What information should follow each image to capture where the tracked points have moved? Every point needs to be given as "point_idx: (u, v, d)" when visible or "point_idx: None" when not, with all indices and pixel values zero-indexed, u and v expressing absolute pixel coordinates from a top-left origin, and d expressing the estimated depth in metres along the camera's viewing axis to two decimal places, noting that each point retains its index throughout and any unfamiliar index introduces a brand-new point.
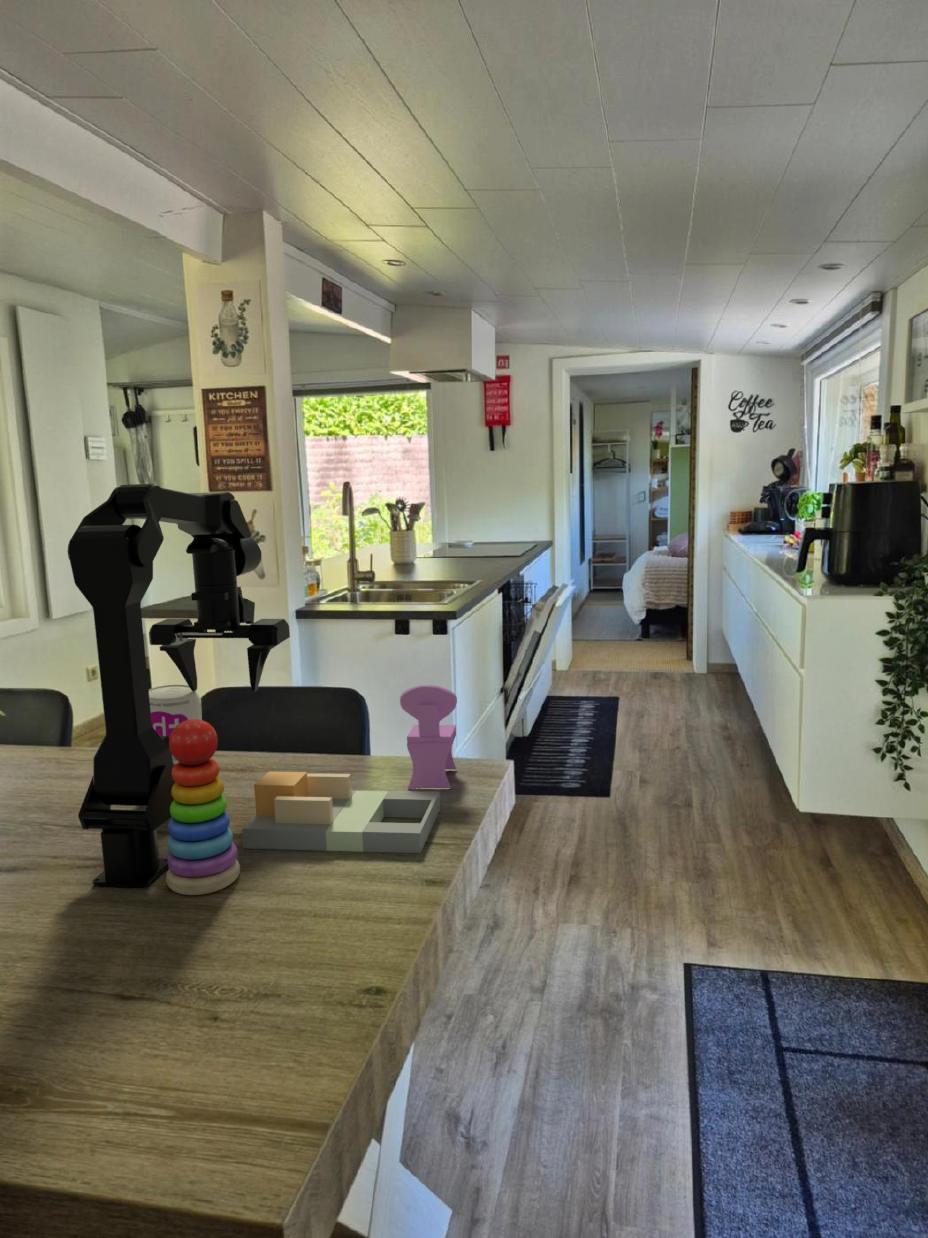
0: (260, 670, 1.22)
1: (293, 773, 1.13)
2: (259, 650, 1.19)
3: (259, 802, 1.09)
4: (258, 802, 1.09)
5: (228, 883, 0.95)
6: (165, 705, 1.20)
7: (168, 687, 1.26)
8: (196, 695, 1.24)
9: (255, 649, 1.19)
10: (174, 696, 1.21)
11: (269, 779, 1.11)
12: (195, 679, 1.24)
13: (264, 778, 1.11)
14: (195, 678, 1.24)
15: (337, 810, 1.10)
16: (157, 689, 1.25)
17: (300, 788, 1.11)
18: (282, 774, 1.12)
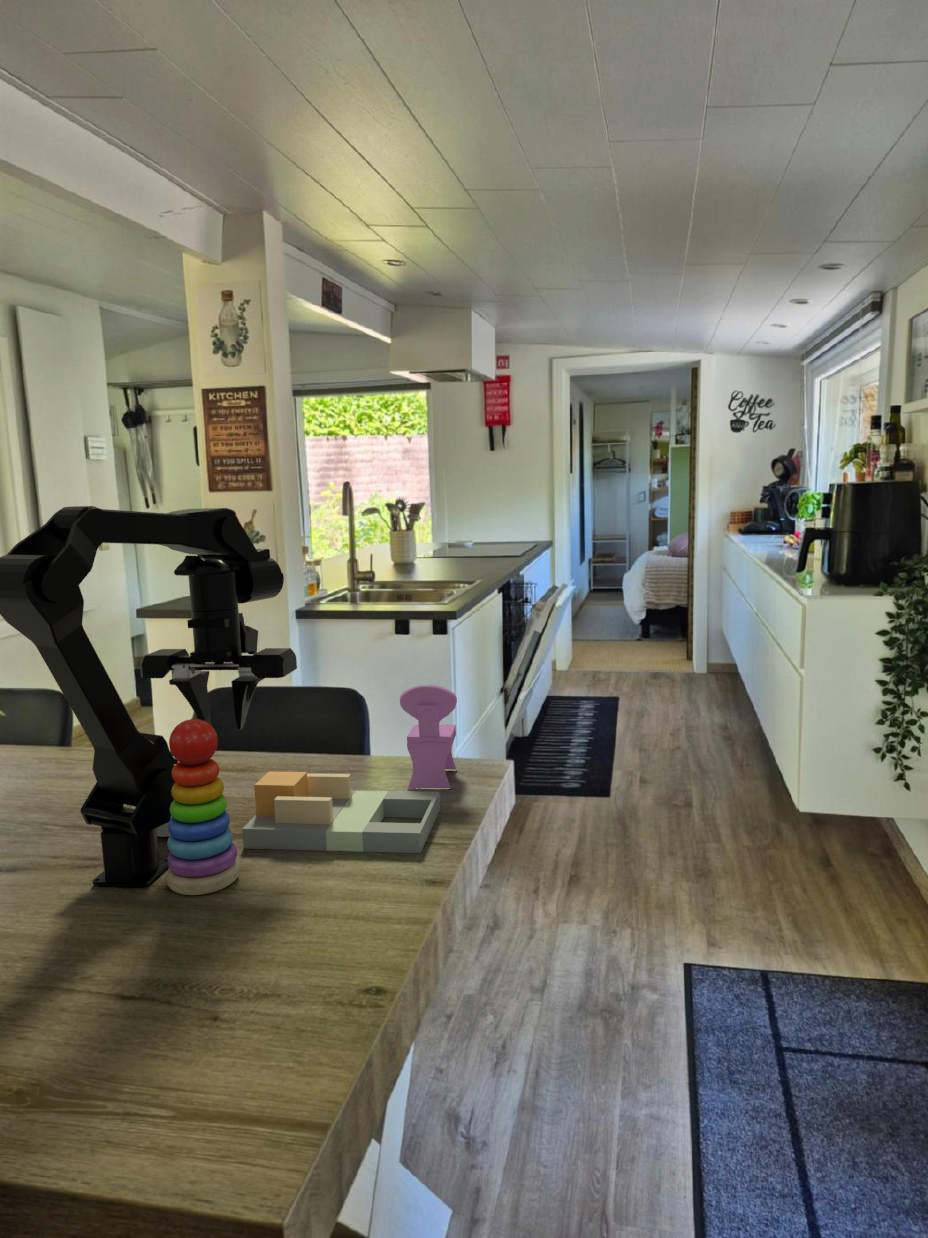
0: (246, 705, 1.10)
1: (293, 773, 1.13)
2: (245, 683, 1.06)
3: (259, 802, 1.09)
4: (258, 802, 1.09)
5: (228, 883, 0.95)
6: None
7: None
8: None
9: (240, 682, 1.06)
10: None
11: (269, 779, 1.11)
12: (208, 716, 1.11)
13: (264, 778, 1.11)
14: (208, 715, 1.11)
15: (337, 810, 1.10)
16: None
17: (300, 788, 1.11)
18: (282, 774, 1.12)
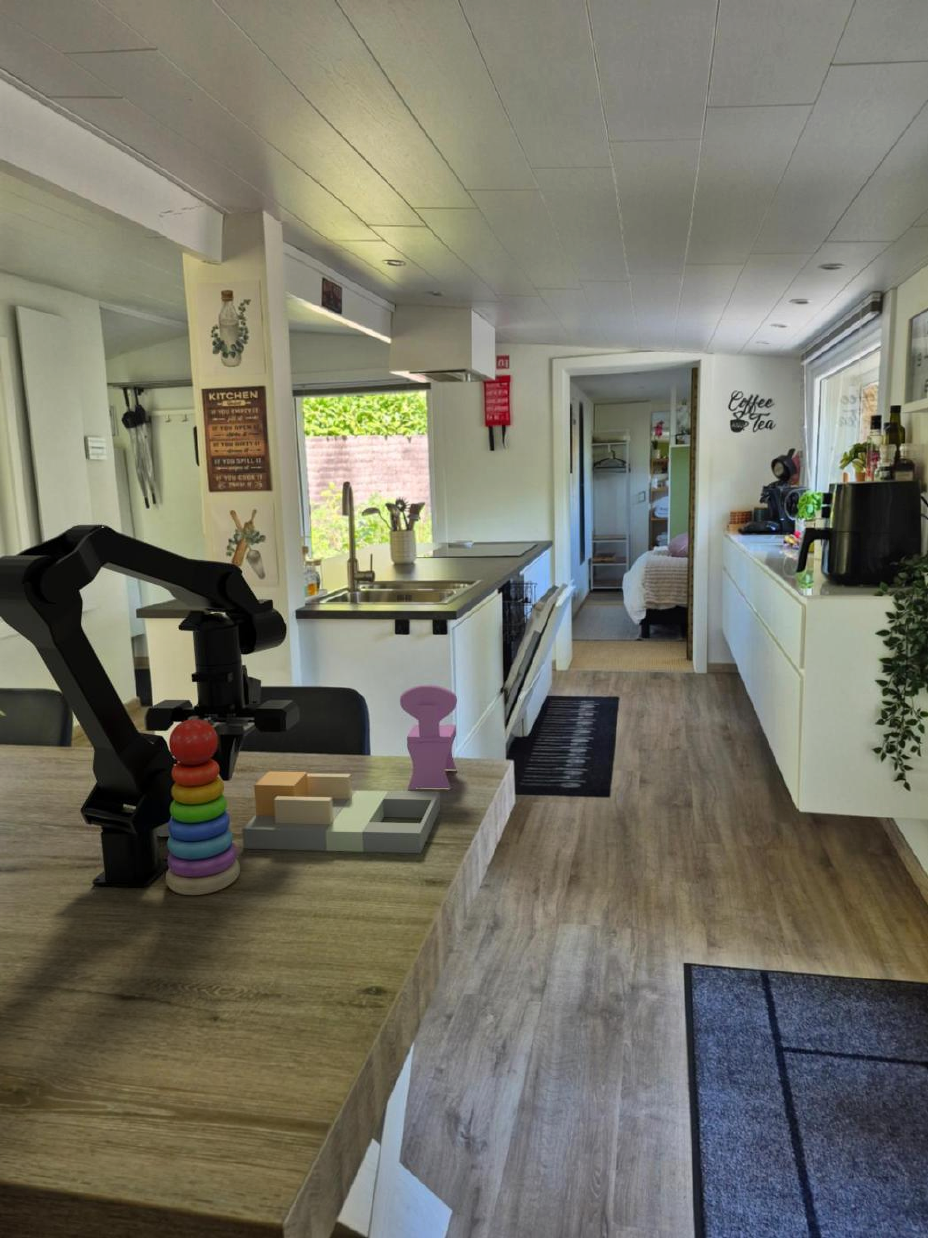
0: (234, 757, 1.11)
1: (293, 773, 1.13)
2: (232, 736, 1.08)
3: (259, 802, 1.09)
4: (258, 802, 1.09)
5: (228, 883, 0.95)
6: (162, 836, 1.09)
7: None
8: None
9: (228, 735, 1.08)
10: None
11: (269, 779, 1.11)
12: None
13: (264, 778, 1.11)
14: None
15: (337, 810, 1.10)
16: None
17: (300, 788, 1.11)
18: (282, 774, 1.12)
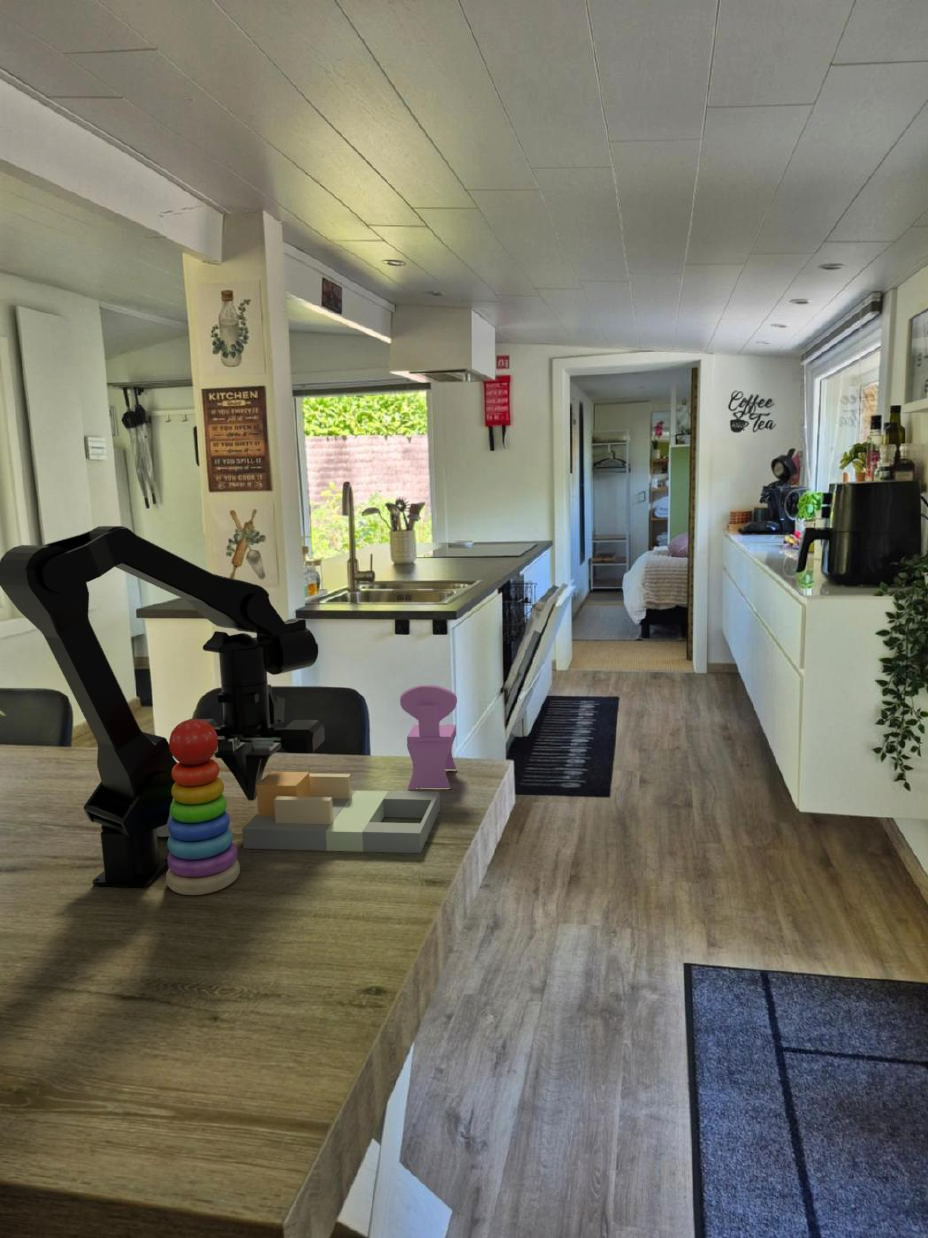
0: (260, 777, 1.11)
1: (295, 773, 1.13)
2: (258, 757, 1.08)
3: (261, 802, 1.09)
4: (260, 803, 1.09)
5: (228, 883, 0.95)
6: None
7: None
8: None
9: (254, 756, 1.08)
10: None
11: (271, 779, 1.11)
12: None
13: (266, 778, 1.11)
14: None
15: (337, 810, 1.10)
16: None
17: (303, 788, 1.10)
18: (284, 774, 1.12)
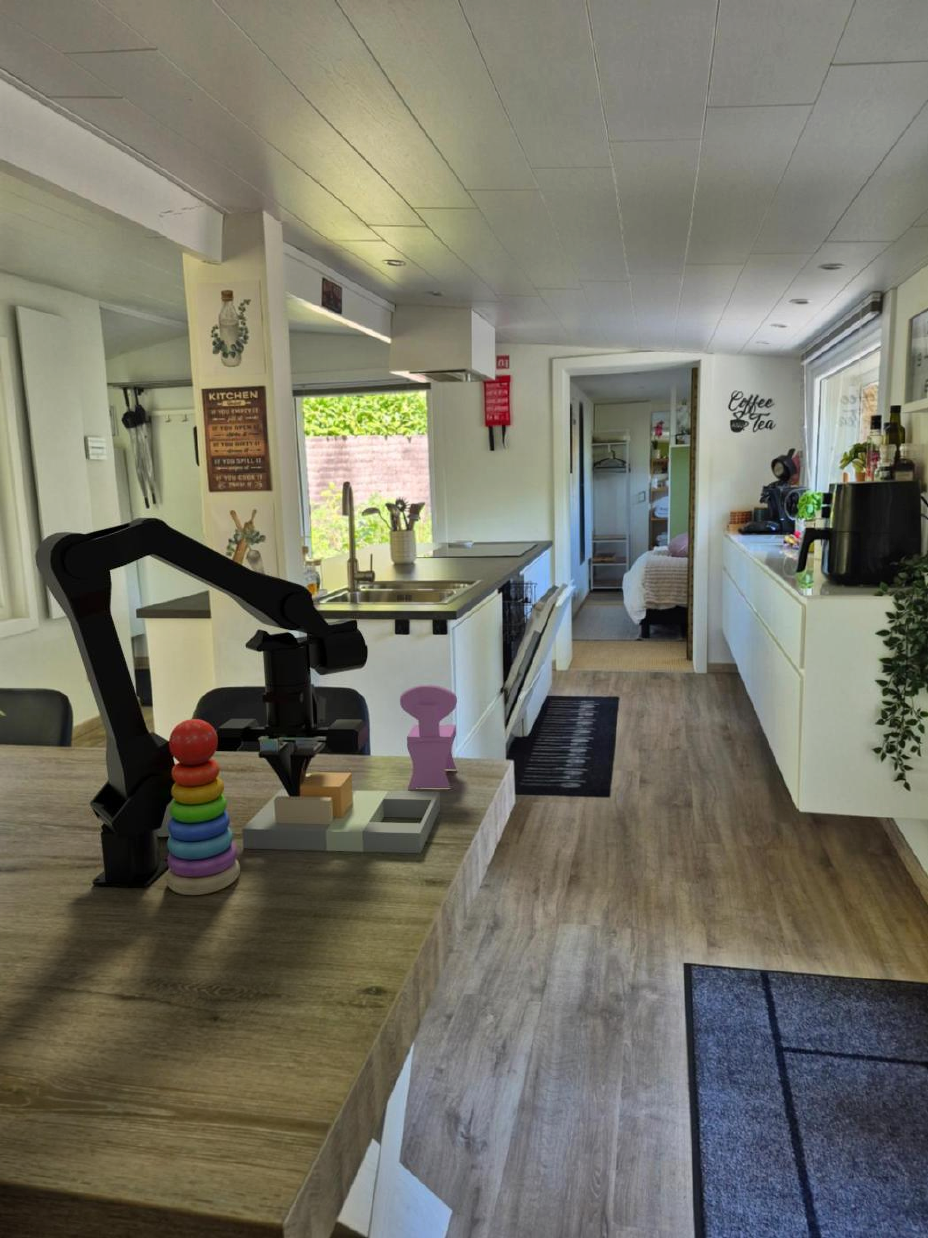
0: (303, 777, 1.10)
1: (337, 773, 1.12)
2: (303, 757, 1.07)
3: None
4: None
5: (228, 883, 0.95)
6: None
7: None
8: None
9: (299, 756, 1.07)
10: None
11: (314, 780, 1.10)
12: None
13: (309, 779, 1.10)
14: None
15: None
16: None
17: (346, 789, 1.10)
18: (327, 775, 1.11)
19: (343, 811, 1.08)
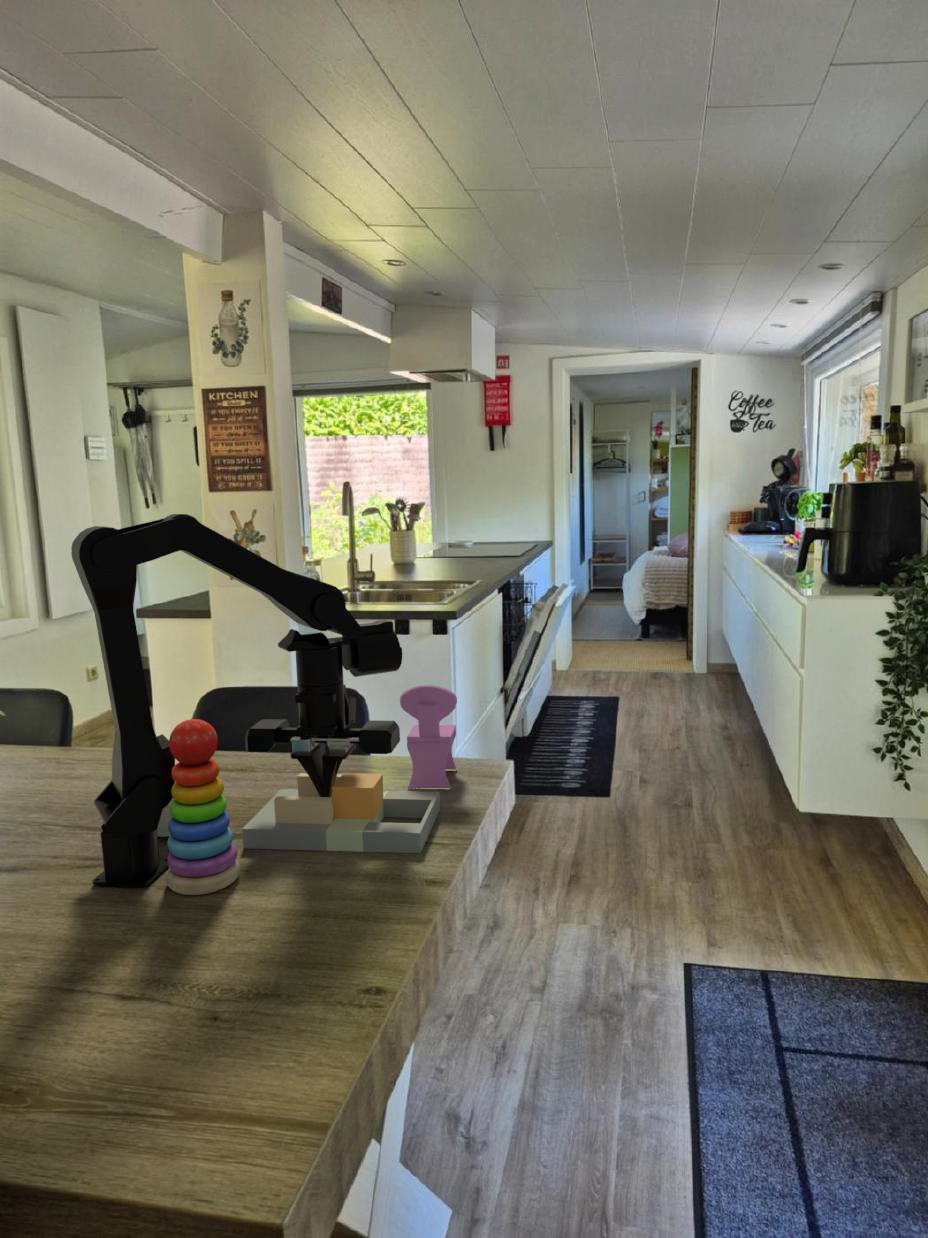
0: (334, 778, 1.10)
1: (368, 775, 1.11)
2: (335, 758, 1.06)
3: (337, 804, 1.07)
4: (335, 805, 1.07)
5: (228, 883, 0.95)
6: None
7: None
8: None
9: (331, 757, 1.06)
10: None
11: (345, 781, 1.09)
12: None
13: (341, 780, 1.09)
14: None
15: None
16: None
17: (377, 790, 1.09)
18: (358, 776, 1.11)
19: (375, 813, 1.08)
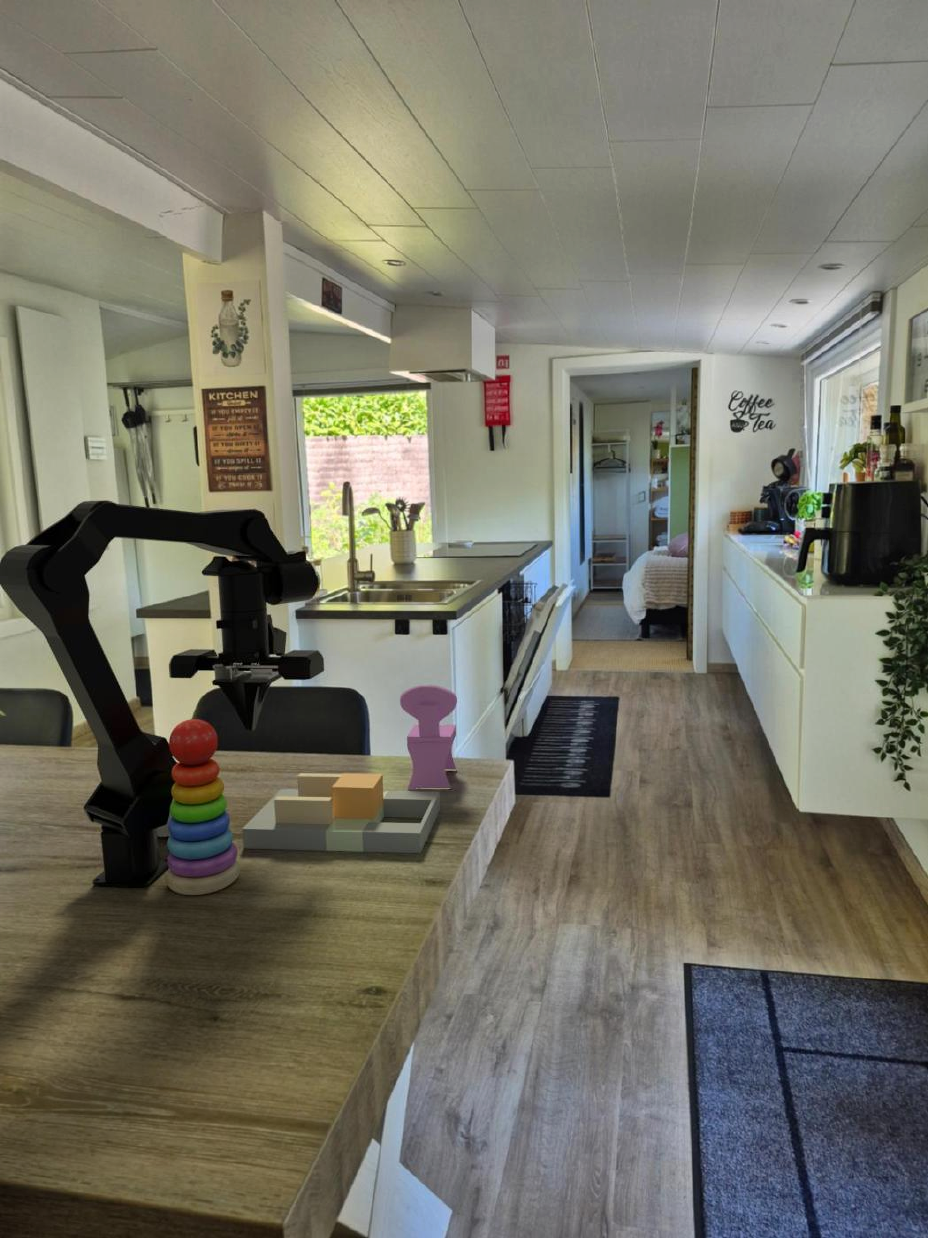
0: (258, 707, 1.10)
1: (368, 775, 1.11)
2: (256, 684, 1.07)
3: (337, 804, 1.07)
4: (335, 805, 1.07)
5: (228, 883, 0.95)
6: None
7: None
8: None
9: (252, 683, 1.07)
10: None
11: (345, 781, 1.09)
12: None
13: (341, 780, 1.09)
14: None
15: None
16: None
17: (377, 790, 1.09)
18: (358, 776, 1.11)
19: (375, 813, 1.08)
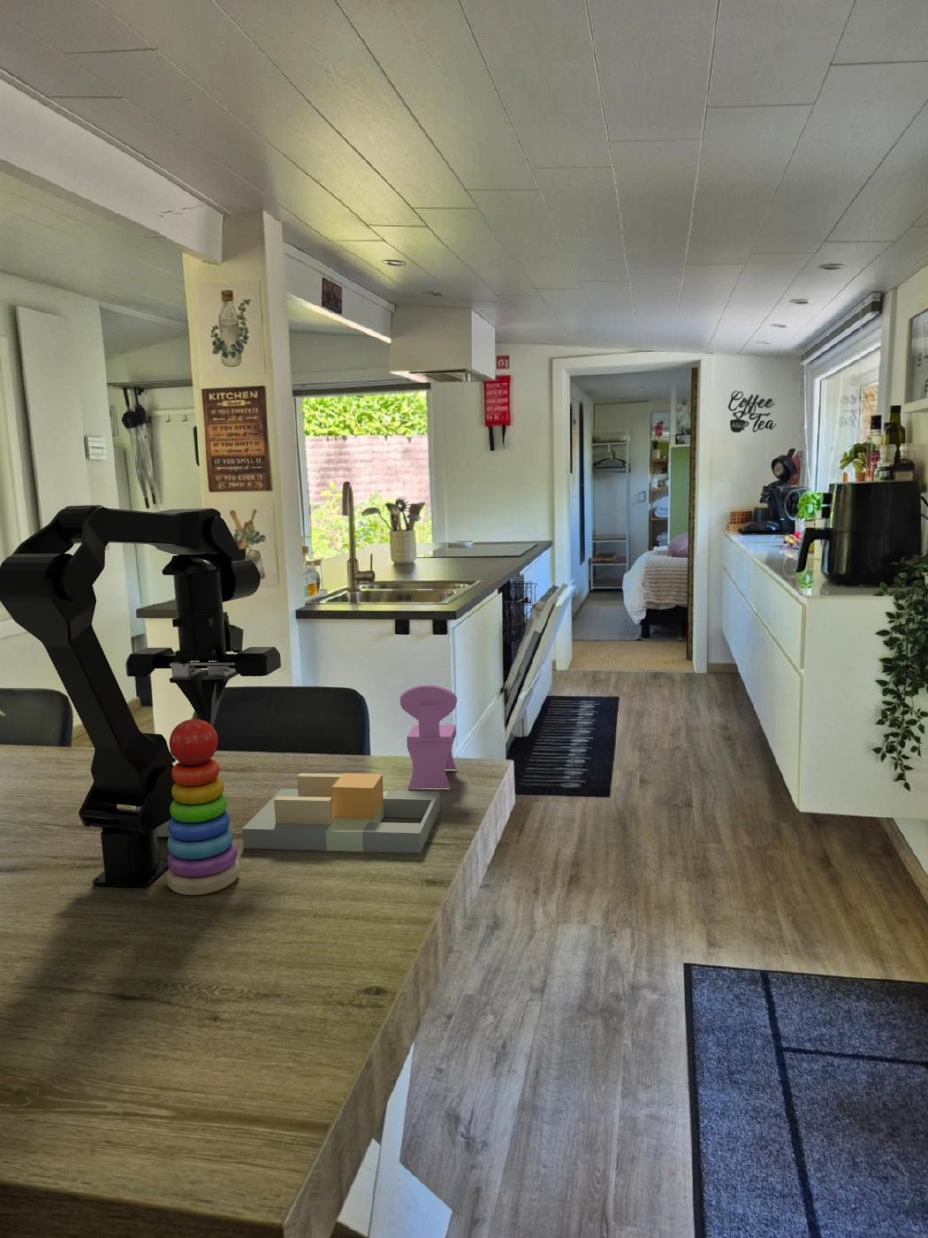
0: (216, 703, 1.12)
1: (368, 775, 1.11)
2: (213, 681, 1.08)
3: (337, 804, 1.07)
4: (335, 805, 1.07)
5: (228, 883, 0.95)
6: None
7: None
8: None
9: (209, 680, 1.08)
10: None
11: (345, 781, 1.09)
12: None
13: (341, 780, 1.09)
14: None
15: None
16: None
17: (377, 790, 1.09)
18: (358, 776, 1.11)
19: (375, 813, 1.08)
